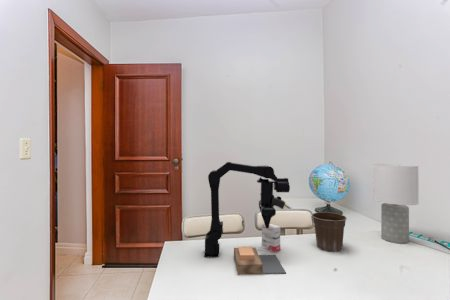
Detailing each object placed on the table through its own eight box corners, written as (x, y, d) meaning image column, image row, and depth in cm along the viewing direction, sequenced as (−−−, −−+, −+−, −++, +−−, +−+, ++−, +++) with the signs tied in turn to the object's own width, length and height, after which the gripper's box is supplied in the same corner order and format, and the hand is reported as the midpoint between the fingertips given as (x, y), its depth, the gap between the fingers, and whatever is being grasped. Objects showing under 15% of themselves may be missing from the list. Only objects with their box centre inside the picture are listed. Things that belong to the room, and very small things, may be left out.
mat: (262, 274, 96) (262, 273, 96) (255, 255, 113) (255, 254, 113) (286, 273, 97) (286, 272, 97) (275, 255, 114) (275, 254, 114)
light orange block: (240, 260, 100) (240, 255, 100) (238, 251, 109) (238, 246, 109) (254, 259, 100) (254, 255, 100) (251, 250, 109) (251, 246, 109)
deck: (237, 274, 96) (237, 264, 96) (233, 256, 113) (233, 247, 113) (262, 274, 96) (262, 264, 96) (255, 255, 113) (255, 247, 113)
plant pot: (325, 255, 114) (325, 221, 114) (305, 242, 130) (305, 212, 130) (354, 252, 118) (354, 219, 118) (332, 240, 133) (332, 211, 133)
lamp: (368, 239, 135) (368, 165, 135) (379, 231, 149) (379, 163, 149) (414, 250, 120) (414, 166, 120) (421, 240, 134) (421, 165, 134)
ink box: (280, 249, 120) (280, 226, 121) (274, 252, 117) (274, 228, 117) (267, 244, 127) (267, 222, 127) (261, 247, 124) (261, 224, 124)
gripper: (287, 196, 105) (287, 232, 105) (280, 189, 124) (280, 220, 124) (261, 195, 106) (261, 231, 106) (258, 188, 125) (258, 219, 125)
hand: (266, 224), depth 115 cm, fingers open, 9 cm apart
